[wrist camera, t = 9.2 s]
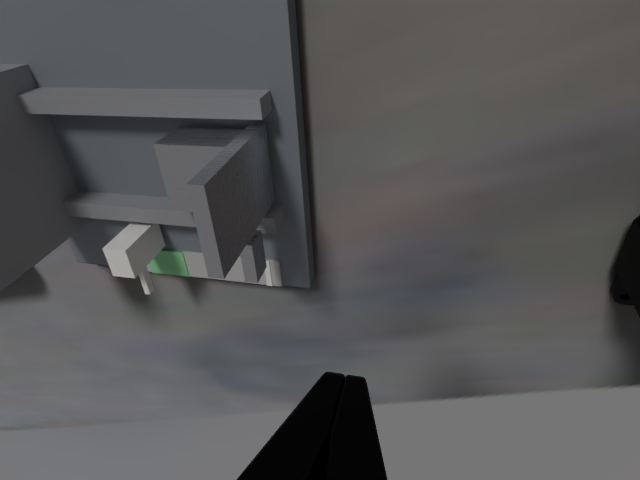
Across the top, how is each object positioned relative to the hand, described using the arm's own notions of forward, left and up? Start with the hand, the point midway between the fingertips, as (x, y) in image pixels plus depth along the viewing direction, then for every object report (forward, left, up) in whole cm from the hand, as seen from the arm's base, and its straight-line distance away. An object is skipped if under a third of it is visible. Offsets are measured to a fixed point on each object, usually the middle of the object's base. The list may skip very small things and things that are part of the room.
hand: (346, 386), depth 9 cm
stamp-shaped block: (+12, +5, -11) cm, 17 cm away
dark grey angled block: (+7, +1, -11) cm, 13 cm away
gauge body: (+11, 0, -12) cm, 16 cm away
